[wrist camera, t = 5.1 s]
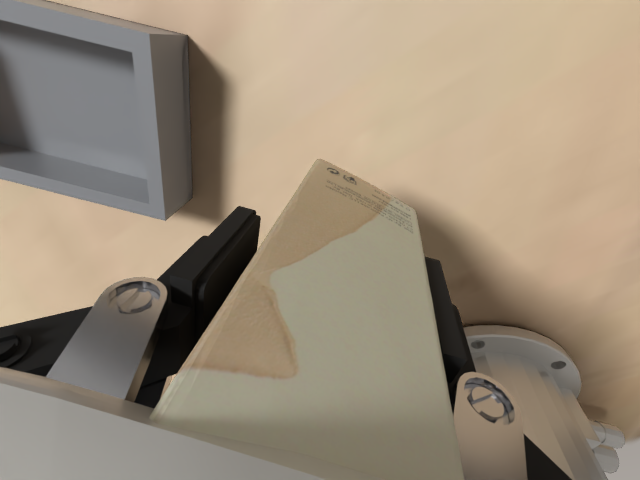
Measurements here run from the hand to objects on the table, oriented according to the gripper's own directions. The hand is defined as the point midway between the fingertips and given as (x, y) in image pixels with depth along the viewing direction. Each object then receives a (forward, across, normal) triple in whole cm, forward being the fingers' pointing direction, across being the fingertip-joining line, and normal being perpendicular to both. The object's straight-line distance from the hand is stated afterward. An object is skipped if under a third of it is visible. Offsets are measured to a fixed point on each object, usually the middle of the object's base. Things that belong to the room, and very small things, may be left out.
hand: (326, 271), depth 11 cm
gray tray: (+7, +18, -1) cm, 20 cm away
